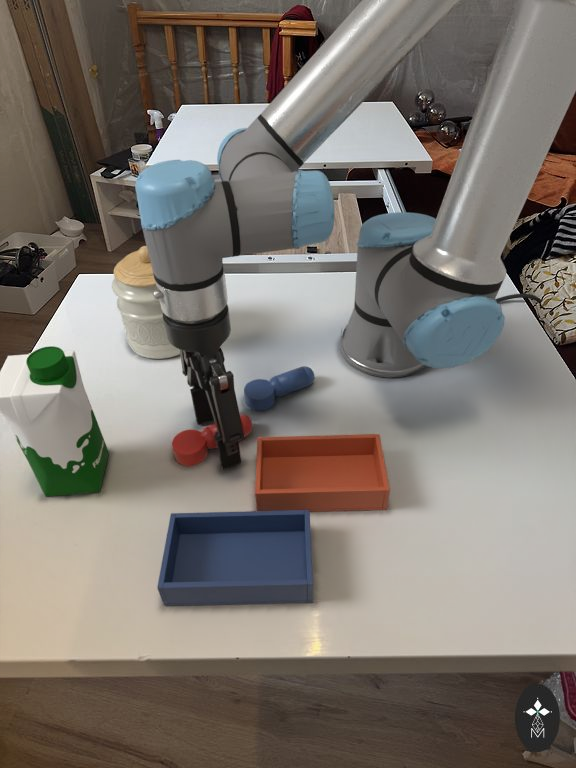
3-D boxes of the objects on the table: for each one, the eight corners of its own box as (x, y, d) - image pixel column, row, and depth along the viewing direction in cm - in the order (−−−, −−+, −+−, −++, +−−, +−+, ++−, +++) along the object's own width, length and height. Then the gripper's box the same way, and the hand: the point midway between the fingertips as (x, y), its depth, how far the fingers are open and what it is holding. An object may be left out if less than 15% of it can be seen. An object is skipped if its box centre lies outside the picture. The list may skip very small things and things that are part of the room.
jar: (149, 371, 88) (125, 276, 76) (115, 335, 96) (88, 245, 84) (215, 340, 94) (202, 248, 82) (178, 309, 102) (161, 221, 90)
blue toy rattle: (306, 372, 86) (306, 357, 84) (320, 389, 83) (320, 373, 81) (240, 396, 83) (238, 381, 81) (252, 414, 80) (251, 399, 77)
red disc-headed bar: (245, 419, 79) (244, 404, 77) (259, 439, 76) (257, 424, 74) (170, 448, 75) (166, 432, 73) (180, 470, 72) (177, 455, 70)
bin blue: (309, 529, 64) (309, 509, 62) (312, 602, 58) (313, 584, 55) (176, 532, 65) (170, 513, 62) (164, 606, 58) (157, 587, 55)
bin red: (376, 453, 73) (379, 433, 71) (386, 509, 66) (390, 490, 64) (259, 456, 73) (257, 437, 71) (257, 513, 66) (254, 493, 64)
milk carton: (106, 497, 69) (57, 381, 56) (35, 503, 69) (-32, 388, 55) (116, 446, 75) (75, 332, 62) (52, 452, 75) (-4, 338, 62)
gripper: (136, 274, 66) (169, 404, 81) (196, 370, 52) (222, 507, 67) (193, 259, 69) (214, 388, 84) (265, 347, 54) (275, 484, 69)
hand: (218, 441), depth 75 cm, fingers open, 9 cm apart
